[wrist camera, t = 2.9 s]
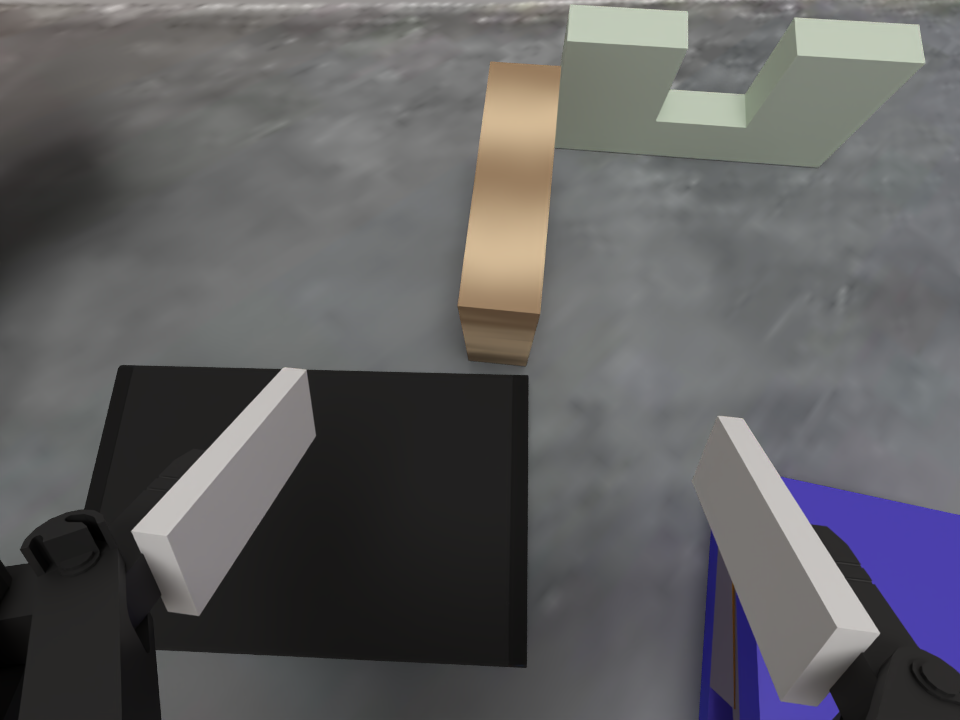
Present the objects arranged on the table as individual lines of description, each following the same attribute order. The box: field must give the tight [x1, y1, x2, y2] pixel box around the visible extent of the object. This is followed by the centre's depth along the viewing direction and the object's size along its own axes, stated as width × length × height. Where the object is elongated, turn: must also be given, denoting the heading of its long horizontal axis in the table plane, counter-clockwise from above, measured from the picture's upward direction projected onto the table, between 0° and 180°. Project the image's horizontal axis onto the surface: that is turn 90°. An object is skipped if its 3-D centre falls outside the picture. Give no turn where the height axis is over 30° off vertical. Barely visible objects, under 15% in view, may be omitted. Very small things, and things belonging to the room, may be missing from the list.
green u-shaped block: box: [554, 5, 925, 168], centre depth 28 cm, size 18×2×8 cm, turn 84°
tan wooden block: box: [458, 62, 561, 366], centre depth 26 cm, size 13×4×9 cm, turn 174°
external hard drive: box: [84, 365, 528, 668], centre depth 25 cm, size 14×23×3 cm, turn 88°
